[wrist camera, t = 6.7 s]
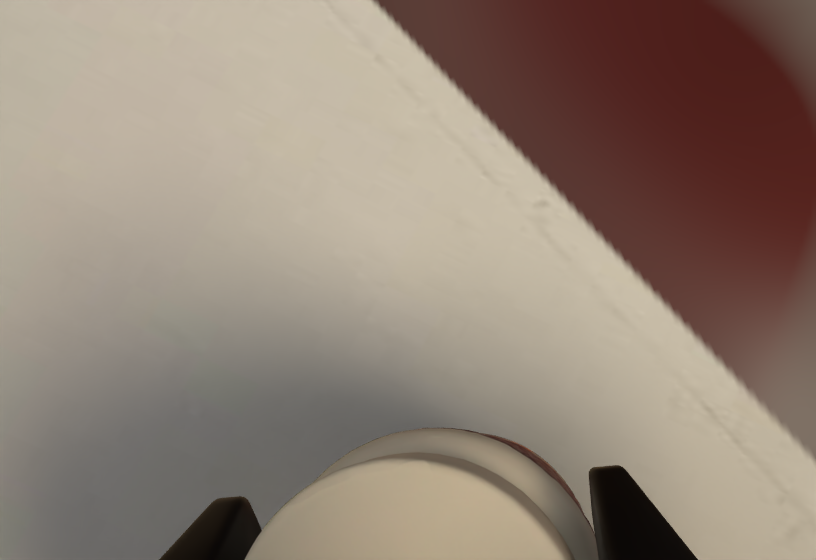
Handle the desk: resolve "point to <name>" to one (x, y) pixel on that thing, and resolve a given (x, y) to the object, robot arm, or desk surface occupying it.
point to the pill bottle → (432, 505)
